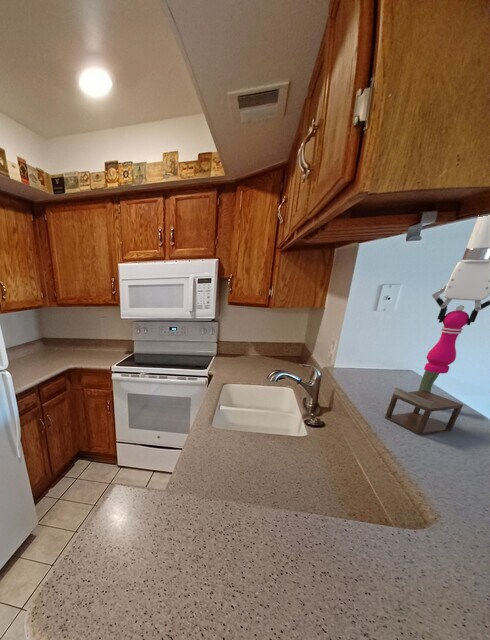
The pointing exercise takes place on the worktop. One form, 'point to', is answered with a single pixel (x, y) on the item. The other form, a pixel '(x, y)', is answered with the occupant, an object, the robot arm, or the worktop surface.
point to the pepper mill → (447, 342)
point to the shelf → (429, 404)
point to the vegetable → (428, 381)
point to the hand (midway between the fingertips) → (454, 322)
